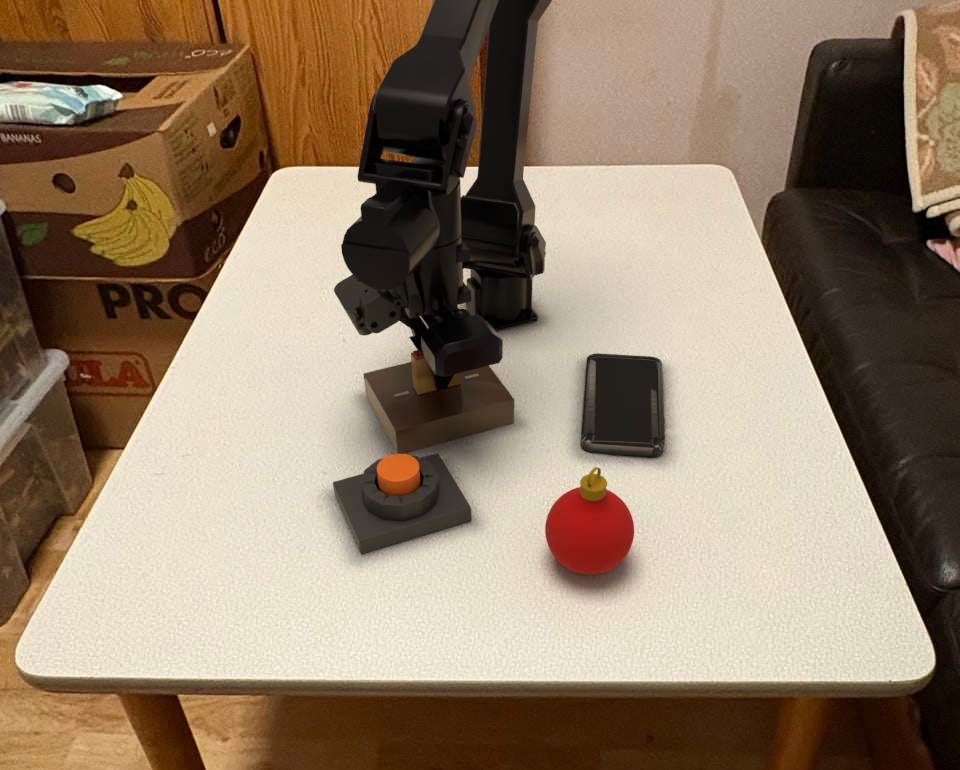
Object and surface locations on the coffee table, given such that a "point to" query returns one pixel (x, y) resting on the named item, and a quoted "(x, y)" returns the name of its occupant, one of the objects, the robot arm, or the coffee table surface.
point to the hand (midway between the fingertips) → (437, 381)
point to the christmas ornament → (589, 527)
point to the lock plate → (436, 407)
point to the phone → (623, 405)
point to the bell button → (398, 474)
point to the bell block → (401, 506)
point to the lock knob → (426, 374)
